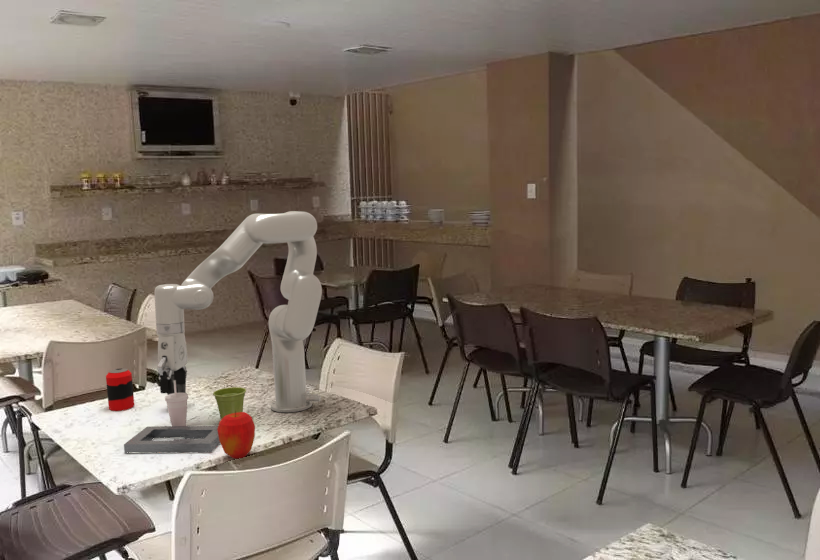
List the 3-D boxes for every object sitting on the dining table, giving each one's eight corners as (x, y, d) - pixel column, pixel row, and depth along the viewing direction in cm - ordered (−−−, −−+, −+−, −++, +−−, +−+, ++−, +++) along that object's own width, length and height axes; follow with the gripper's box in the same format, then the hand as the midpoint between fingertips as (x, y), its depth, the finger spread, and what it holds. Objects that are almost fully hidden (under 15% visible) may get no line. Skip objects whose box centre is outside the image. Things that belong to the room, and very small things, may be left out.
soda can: (135, 402, 231) (131, 366, 230) (133, 409, 224) (130, 372, 223) (109, 405, 229) (106, 369, 228) (107, 412, 222) (104, 374, 220)
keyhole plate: (228, 433, 198) (228, 425, 198) (211, 452, 184) (210, 443, 184) (147, 434, 199) (147, 426, 199) (124, 453, 186) (123, 444, 185)
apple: (245, 447, 187) (242, 402, 185) (263, 455, 180) (260, 409, 179) (212, 457, 181) (209, 411, 179) (230, 466, 174) (227, 418, 172)
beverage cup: (193, 405, 226) (188, 343, 224) (184, 412, 219) (179, 348, 217) (171, 405, 227) (166, 343, 225) (161, 412, 220) (156, 348, 218)
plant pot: (210, 419, 211) (208, 391, 210) (240, 413, 216) (238, 385, 215) (222, 427, 203) (220, 397, 202) (253, 420, 209) (251, 391, 208)
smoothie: (184, 423, 208) (180, 376, 207) (195, 428, 204) (191, 380, 202) (163, 429, 204) (159, 381, 202) (173, 434, 199) (169, 385, 198)
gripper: (171, 334, 191) (174, 396, 193) (194, 323, 208) (197, 380, 210) (144, 334, 192) (147, 396, 194) (169, 323, 209) (172, 380, 211)
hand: (173, 388), depth 202 cm, fingers open, 9 cm apart
